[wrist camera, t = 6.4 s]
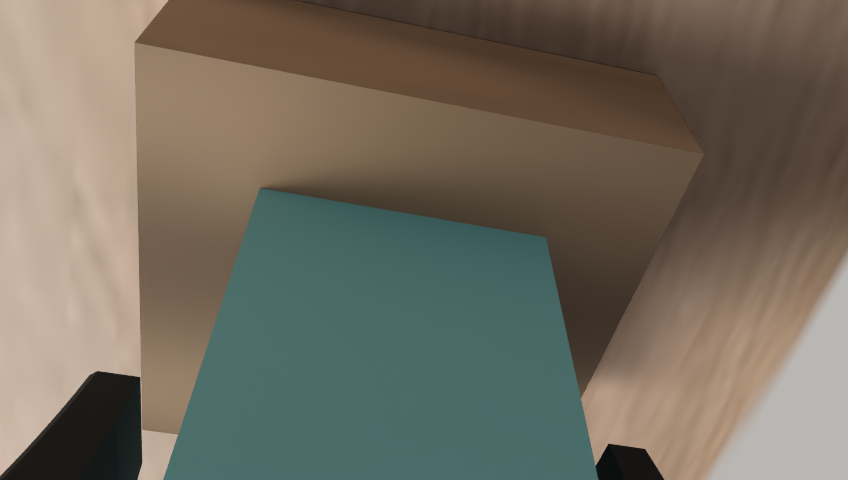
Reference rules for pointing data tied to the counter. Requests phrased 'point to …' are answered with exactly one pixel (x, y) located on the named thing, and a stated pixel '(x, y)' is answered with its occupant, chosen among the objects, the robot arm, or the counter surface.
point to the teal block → (384, 354)
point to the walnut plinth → (385, 158)
